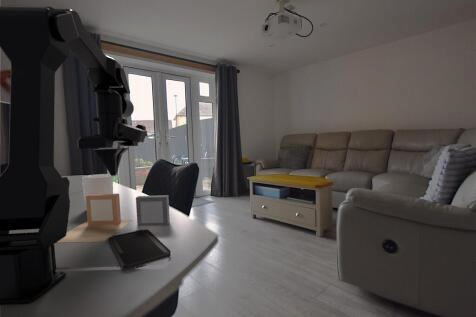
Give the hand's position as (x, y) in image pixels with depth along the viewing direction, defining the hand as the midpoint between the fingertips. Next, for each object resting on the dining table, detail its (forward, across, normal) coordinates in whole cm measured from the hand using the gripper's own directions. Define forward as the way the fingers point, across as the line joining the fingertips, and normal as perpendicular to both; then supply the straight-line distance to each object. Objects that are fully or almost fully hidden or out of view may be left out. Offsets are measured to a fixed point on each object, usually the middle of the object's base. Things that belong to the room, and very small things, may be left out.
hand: (113, 175), depth 64 cm
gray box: (+11, -7, -12) cm, 18 cm away
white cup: (+11, +8, +9) cm, 17 cm away
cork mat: (+11, -10, 0) cm, 15 cm away
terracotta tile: (+11, -6, 0) cm, 12 cm away
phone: (+12, -19, -13) cm, 26 cm away
